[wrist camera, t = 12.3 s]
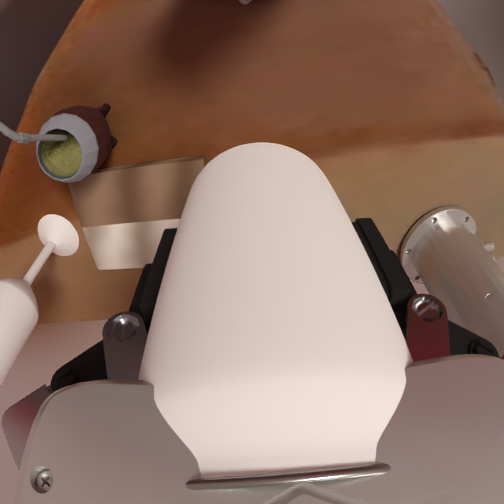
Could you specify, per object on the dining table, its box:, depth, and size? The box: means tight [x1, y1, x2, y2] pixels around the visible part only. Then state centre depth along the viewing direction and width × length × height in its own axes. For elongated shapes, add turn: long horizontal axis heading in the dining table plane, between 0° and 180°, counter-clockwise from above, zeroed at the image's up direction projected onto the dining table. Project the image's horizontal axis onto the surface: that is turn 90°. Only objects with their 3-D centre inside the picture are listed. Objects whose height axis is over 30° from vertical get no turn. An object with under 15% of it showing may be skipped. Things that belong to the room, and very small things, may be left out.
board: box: [68, 156, 206, 270], centre depth 36 cm, size 16×13×1 cm
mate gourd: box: [0, 103, 117, 183], centre depth 23 cm, size 8×8×15 cm
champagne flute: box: [0, 214, 79, 386], centre depth 28 cm, size 7×7×24 cm
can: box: [138, 143, 413, 490], centre depth 10 cm, size 6×6×12 cm
